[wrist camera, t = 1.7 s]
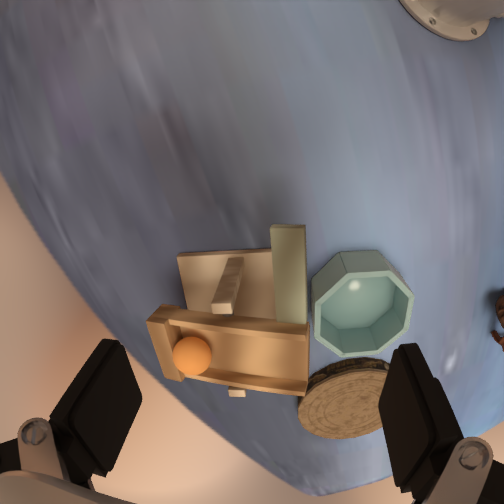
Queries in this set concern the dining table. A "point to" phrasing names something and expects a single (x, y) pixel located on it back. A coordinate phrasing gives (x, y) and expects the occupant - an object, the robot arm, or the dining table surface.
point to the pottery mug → (503, 315)
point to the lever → (250, 329)
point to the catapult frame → (229, 285)
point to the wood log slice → (344, 398)
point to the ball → (192, 355)
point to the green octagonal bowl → (359, 304)
